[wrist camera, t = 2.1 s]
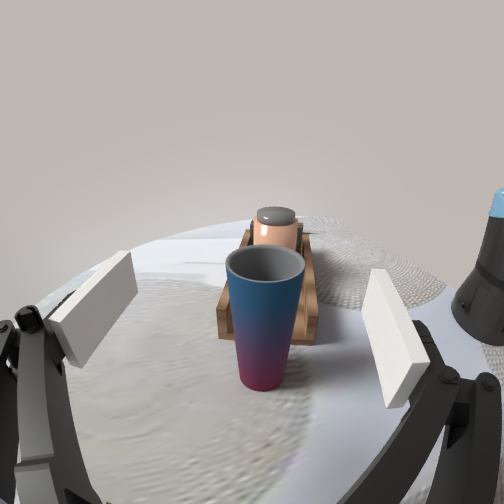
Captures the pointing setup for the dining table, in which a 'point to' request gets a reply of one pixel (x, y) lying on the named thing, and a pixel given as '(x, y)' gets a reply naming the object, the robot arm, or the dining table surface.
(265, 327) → the cup
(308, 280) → the wooden tray
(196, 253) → the dining table surface
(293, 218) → the jar
